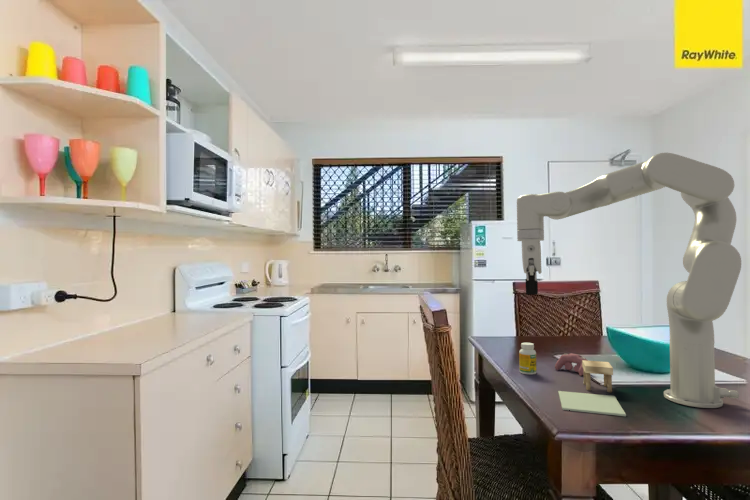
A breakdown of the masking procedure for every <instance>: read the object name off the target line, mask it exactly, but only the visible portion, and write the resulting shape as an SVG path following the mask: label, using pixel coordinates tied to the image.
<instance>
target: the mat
mask: <svg viewBox="0 0 750 500" xmlns="http://www.w3.org/2000/svg"><path fill="white" fill-rule="evenodd" d="M557 392H558V397H559V401H560V405H561V409H562V411H569V410H570V411H571V412H579V413H588V414H589V413H591V414H601V415H607V416H608V415H610V416H618V417H627V414H626V412H625V410H624V409H623V408H622V405H621V404H620V403H619V401H618V400H617V397H616V396H615V395H608V394H607V395H606V394H594V393H588V392H587V393H585V392H575V391H566V390H565V391H563V390H562V391H561V390H558V391H557ZM570 411H569V412H570Z"/></svg>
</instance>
